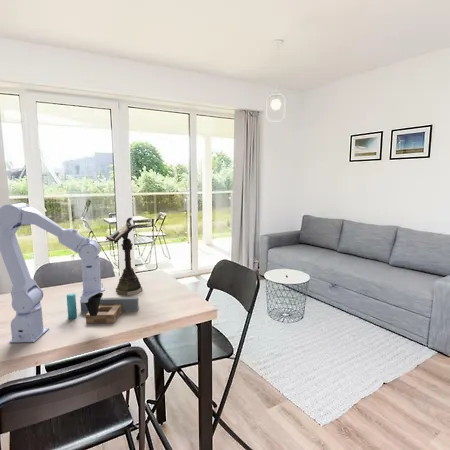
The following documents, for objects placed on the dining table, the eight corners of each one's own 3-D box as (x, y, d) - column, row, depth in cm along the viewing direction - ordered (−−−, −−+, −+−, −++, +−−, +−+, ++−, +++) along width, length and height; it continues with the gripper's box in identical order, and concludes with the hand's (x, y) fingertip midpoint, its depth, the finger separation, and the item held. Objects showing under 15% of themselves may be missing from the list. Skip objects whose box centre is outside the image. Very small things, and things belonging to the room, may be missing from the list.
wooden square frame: (114, 322, 116) (113, 314, 116) (86, 322, 116) (85, 315, 115) (121, 311, 126) (121, 304, 126) (96, 311, 126) (95, 304, 125)
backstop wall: (137, 311, 126) (136, 298, 126) (81, 312, 126) (80, 299, 125) (140, 306, 131) (139, 295, 130) (85, 307, 130) (84, 295, 129)
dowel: (74, 319, 119) (73, 296, 118) (66, 319, 119) (65, 296, 118) (78, 316, 122) (76, 293, 121) (70, 316, 122) (68, 293, 121)
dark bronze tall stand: (110, 300, 138) (105, 219, 133) (102, 291, 148) (98, 217, 143) (147, 292, 147) (144, 217, 142) (137, 285, 158) (134, 214, 153)
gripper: (95, 283, 101) (97, 324, 103) (110, 270, 116) (112, 306, 117) (73, 283, 101) (75, 324, 103) (90, 270, 115) (92, 306, 117)
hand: (93, 315), depth 110 cm, fingers closed
